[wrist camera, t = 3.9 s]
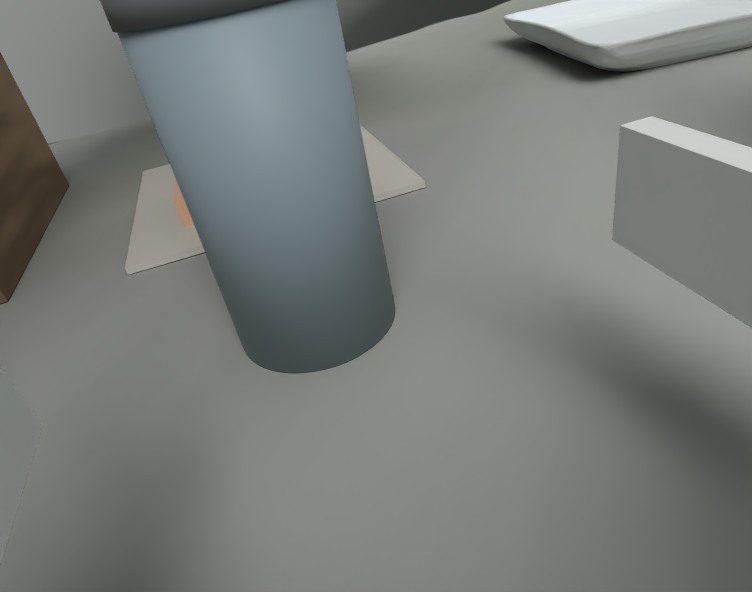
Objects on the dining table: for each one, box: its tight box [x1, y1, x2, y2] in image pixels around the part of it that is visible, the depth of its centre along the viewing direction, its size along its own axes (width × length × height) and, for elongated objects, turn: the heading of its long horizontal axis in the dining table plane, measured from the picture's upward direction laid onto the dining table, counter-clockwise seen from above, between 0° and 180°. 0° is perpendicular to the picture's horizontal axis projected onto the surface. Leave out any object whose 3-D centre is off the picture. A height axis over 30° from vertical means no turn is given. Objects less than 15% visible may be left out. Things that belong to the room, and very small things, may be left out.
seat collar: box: [125, 125, 425, 275], centre depth 35 cm, size 16×16×2 cm
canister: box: [100, 0, 395, 373], centre depth 18 cm, size 6×6×12 cm
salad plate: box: [504, 0, 752, 72], centre depth 47 cm, size 21×21×3 cm
